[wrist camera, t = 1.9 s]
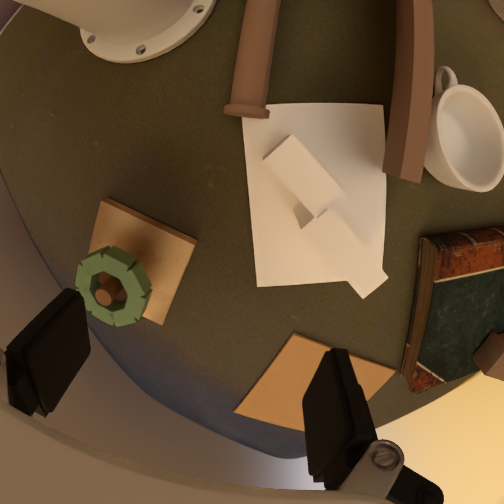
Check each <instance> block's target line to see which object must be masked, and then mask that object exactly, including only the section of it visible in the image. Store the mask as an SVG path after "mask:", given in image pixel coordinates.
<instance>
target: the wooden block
mask: <svg viewBox="0 0 504 504" xmlns="http://www.w3.org/2000/svg"><path fill="white" fill-rule="evenodd" d="M473 359H474V361H475V362H476V364H477V365H478V366H479V368H480V369H481V371H482V372H483V373H484V375H486V376H490V377H493V378H496V379H499V380H502V381H504V333H501V334H496V333H495V332H491V333H490V335H489V336H488V337H487V339H486V340H485V341H484V343H483V344H482V345H481V346H480V348H479V349H478V350H477V351H476V353H475V354H474V355H473Z"/></svg>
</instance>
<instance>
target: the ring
mask: <svg viewBox="0 0 504 504" xmlns="http://www.w3.org/2000/svg"><path fill="white" fill-rule="evenodd" d="M136 258H137V257H136V256H134V255H132V254H130V253H128V252H126V251H124V250H122V249H120V248H118V247H116V246H112V247H111V248H110V246H106V247H103V248H101V249H99V250H96V251H94V252H92V253H90V254H89V255H87V256H86V257H85V258H83V259H82V260H81V262H80V263H79V264H78V269H77V276H76V282H75V285H76V286H77V287H78V288H77V289H76V291H79V292H80V293H81V296H83V297H84V302H85V307H86V308H87V310H88V311H91V310H92V315H93V316H95V317H97V318H99V319H101V320H102V321H104V322H106V323H108V324H110V325H112V326H113V325H114V324H115V325H116V326H117V327H119V326H123V325H127V324H132V323H136V322H137V321H138V320H140V318H141V317H142V315H143V313H144V312H145V310H146V308H147V305H148V302H149V299H150V296H151V293H152V290H153V289H151V288H150V287H151V286H152V283H151V281H150V279H149V277H148V275H147V273H146V271H145V269H144V267H143V265H142V263H141V261H138V262H136ZM103 271H105V272H107V273H109V274H111V275H113V276H115V277H117V278H118V279H120V281H121V283H122V285H123V286H124V288H125V290H126V292H127V294H128V297H127V300H125V301H121V302H118V301H117V300H115V299H114V300H113V301H112V302H111V304H110V305H108V306H104V305H102V304H100V303H99V302H98V301H97V299H96V296H95V293H96V291H97V290H98V289H99V288H100V287H101V285H100V283H99V281H98V279H99V274H100V272H103Z"/></svg>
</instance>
